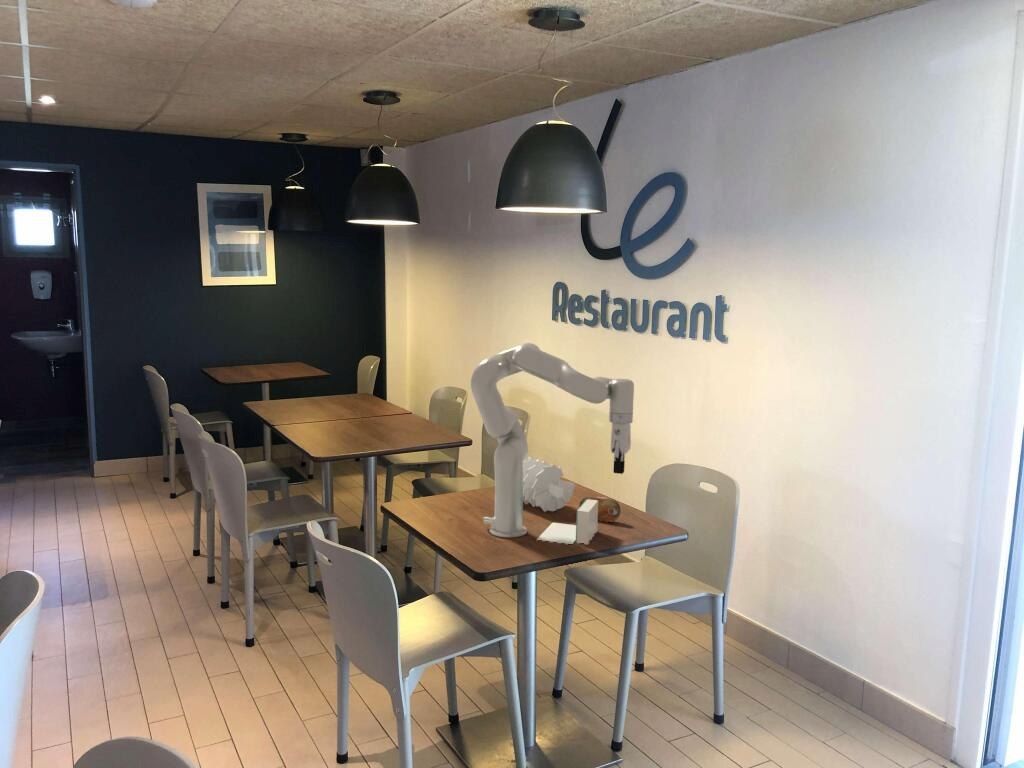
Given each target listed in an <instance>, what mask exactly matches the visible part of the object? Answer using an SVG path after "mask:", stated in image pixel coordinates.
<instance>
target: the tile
mask: <svg viewBox="0 0 1024 768" xmlns="http://www.w3.org/2000/svg"><path fill="white" fill-rule="evenodd" d="M575 520H576V521H575V525H576V541H575V543H576V542H577V543H576V544H580V543H584V544H583V545H589V544H590V542H591V541H592V539H593V538H594V536H595V535H596V534H597V532H598V522H599V521H598V500H590V499H586V501H585V502H584V503H583V504H582V505H581V506H580V507H579V506H578V509H577V510H576V519H575ZM595 533H596V534H595ZM594 534H595V535H594ZM592 537H593V538H592ZM590 540H591V541H590ZM589 541H590V542H589Z"/></svg>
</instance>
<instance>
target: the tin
mask: <svg viewBox="0 0 1024 768" xmlns="http://www.w3.org/2000/svg"><path fill="white" fill-rule="evenodd" d="M586 499H590V500H598V520H599V521H598V522H602V521H604V522H603V523H608V522H610V523H614V522H616V520H618V519H619V517H620V514H621V506H620V504H619V502H618V501H617V500H615V499H613V498H610V497H601V496H596V495H595V496H594V495H587V496H586V497H584V498H582V499H581V501H580V502H579V505H578V508H579V507H580V506H581V505H582V504H583V503H584V502H585V501H586Z"/></svg>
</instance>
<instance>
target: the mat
mask: <svg viewBox="0 0 1024 768" xmlns="http://www.w3.org/2000/svg"><path fill="white" fill-rule="evenodd" d="M538 540H542V541H541V542H545V541H549V542H548V543H553V542H557V543H556V544H561V543H565V544H564V545H568V544H573V545H574V543H576V524H567V523H561V522H552V523H551V524H550V525H549V526H548V527H547V528H546V529H545V530H544V531H543V532H542V533H541V534H540V535H539V536H538V537H537V538H536V541H538Z"/></svg>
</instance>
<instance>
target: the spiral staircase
mask: <svg viewBox="0 0 1024 768" xmlns="http://www.w3.org/2000/svg"><path fill="white" fill-rule="evenodd" d="M562 470H563V469H562V467H561V466H556V464H554V463H550V464H548V462H547V461H546V460H544V459H543V460H542V461H540V459H534V458H532V457H531V456H529V457H527V456H526V457H525V458H524V460H523V504H524V505H526V504H527V505H528V504H530V505H531V506H532V507H533V508H535V507H540V508H541V510H542V511H543V512H544V513H547V511H549V512H554V511H556V512H557V510H559V509H562V508H564V507H565V506H567V503H568V501H569V500H571V498H572V497H573V493H574V490H575V486H576V483H575V482H572V481H566V480H562V479H561V478H563V477H564V474H563V471H562Z"/></svg>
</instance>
